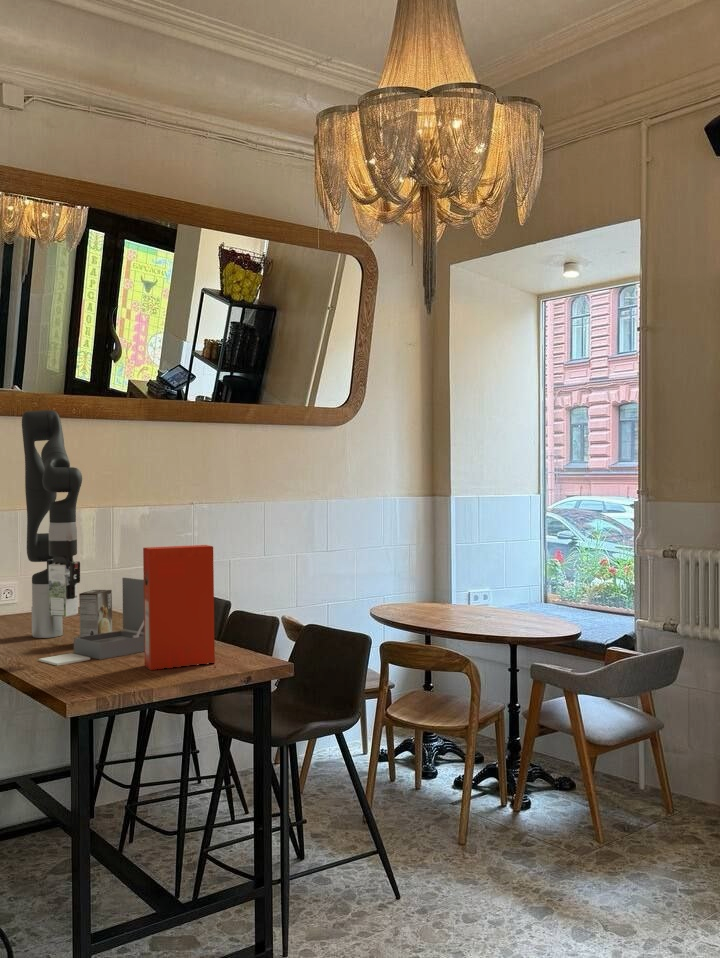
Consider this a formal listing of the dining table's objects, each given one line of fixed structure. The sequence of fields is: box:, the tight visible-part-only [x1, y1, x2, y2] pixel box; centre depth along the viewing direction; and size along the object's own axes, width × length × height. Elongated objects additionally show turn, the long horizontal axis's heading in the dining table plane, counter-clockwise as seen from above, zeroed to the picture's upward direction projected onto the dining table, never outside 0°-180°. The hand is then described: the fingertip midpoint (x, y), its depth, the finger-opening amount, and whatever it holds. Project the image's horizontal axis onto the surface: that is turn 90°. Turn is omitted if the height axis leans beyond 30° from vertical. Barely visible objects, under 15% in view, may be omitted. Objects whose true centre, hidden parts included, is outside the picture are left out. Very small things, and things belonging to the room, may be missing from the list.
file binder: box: [142, 544, 216, 671], centre depth 241 cm, size 8×17×32 cm, turn 116°
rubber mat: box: [38, 652, 91, 666], centre depth 248 cm, size 10×10×1 cm
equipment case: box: [73, 577, 145, 661], centre depth 260 cm, size 14×17×20 cm
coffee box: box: [78, 589, 113, 637], centre depth 274 cm, size 9×6×16 cm
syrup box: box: [49, 564, 79, 618], centre depth 248 cm, size 6×6×14 cm
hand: (63, 597), depth 248 cm, fingers closed on syrup box, 7 cm apart
